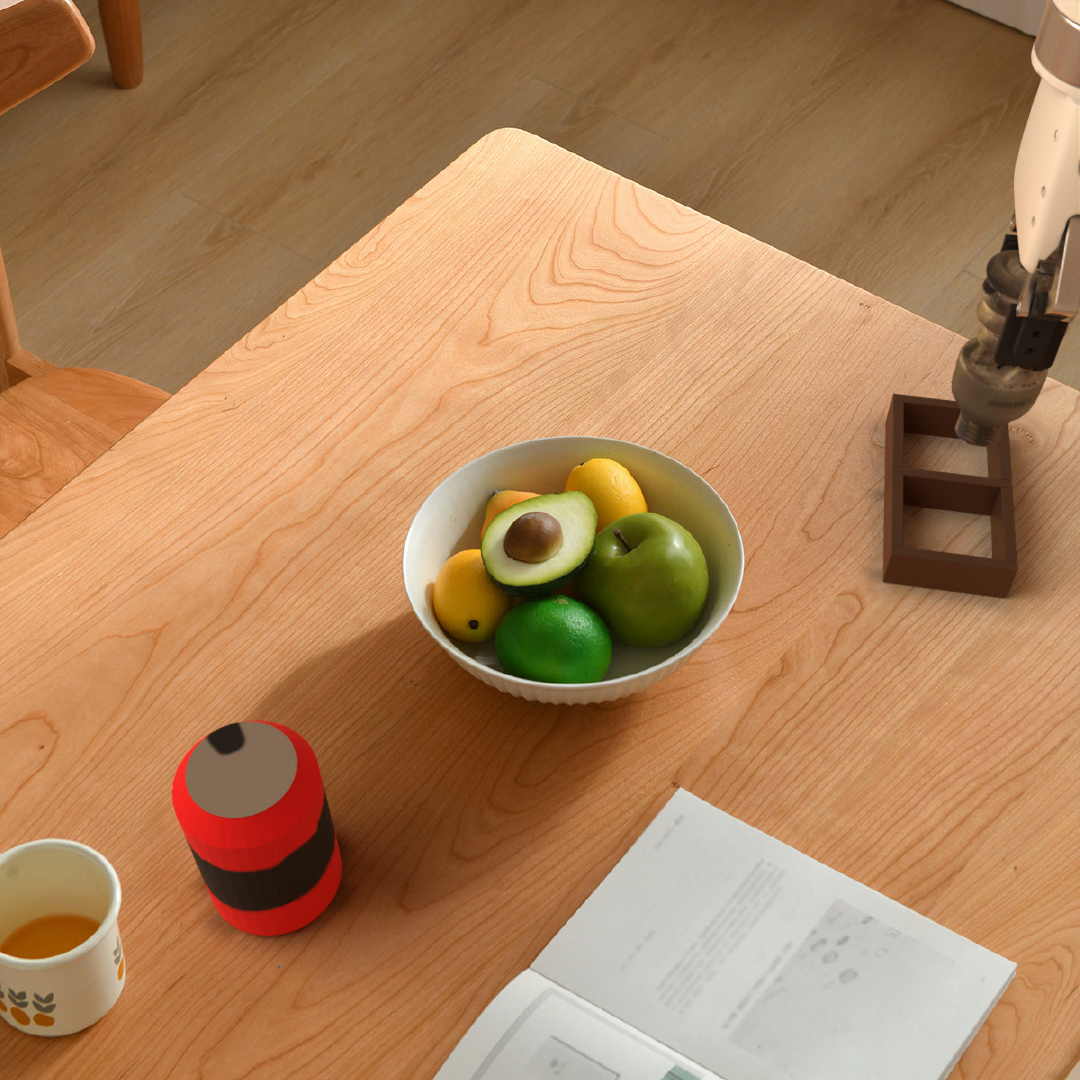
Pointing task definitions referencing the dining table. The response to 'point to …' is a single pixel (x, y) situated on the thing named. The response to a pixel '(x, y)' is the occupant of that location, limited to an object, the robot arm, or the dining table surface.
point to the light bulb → (977, 378)
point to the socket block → (946, 505)
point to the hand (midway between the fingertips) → (1019, 325)
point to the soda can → (259, 826)
